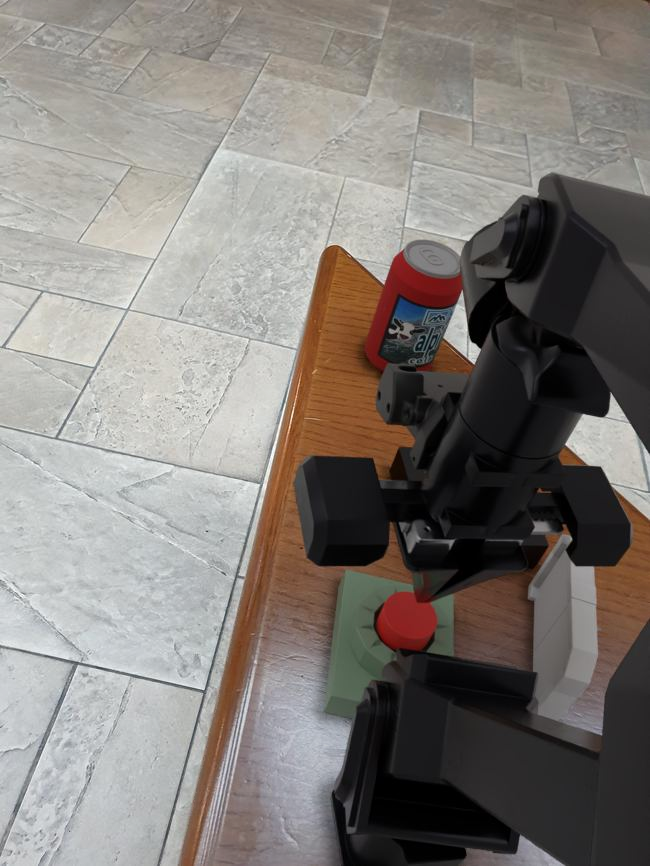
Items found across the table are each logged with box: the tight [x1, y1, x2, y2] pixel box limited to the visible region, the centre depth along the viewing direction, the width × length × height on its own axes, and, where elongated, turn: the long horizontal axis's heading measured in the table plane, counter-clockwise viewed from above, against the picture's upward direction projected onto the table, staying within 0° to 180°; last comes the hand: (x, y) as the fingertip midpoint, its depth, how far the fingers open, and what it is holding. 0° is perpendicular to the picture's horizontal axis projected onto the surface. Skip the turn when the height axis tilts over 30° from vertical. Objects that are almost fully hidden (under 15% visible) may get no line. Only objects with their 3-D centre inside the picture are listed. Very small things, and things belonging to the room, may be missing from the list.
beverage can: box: [364, 238, 463, 373], centre depth 79 cm, size 7×7×12 cm
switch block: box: [323, 569, 455, 720], centre depth 57 cm, size 10×8×4 cm
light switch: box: [527, 533, 599, 722], centre depth 59 cm, size 2×12×8 cm, turn 168°
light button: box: [377, 592, 437, 651], centre depth 56 cm, size 4×4×2 cm
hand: (420, 596), depth 54 cm, fingers closed
